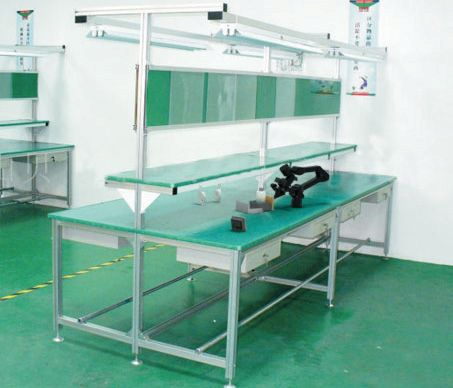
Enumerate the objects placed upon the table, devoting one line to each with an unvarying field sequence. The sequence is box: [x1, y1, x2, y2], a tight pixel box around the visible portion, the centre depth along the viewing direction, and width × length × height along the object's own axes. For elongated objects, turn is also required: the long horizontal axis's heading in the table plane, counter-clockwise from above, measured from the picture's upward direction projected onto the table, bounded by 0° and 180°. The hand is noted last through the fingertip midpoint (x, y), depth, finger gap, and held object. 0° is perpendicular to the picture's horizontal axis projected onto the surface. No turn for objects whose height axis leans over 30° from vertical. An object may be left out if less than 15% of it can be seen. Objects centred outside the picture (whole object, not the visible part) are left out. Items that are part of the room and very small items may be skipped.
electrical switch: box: [230, 214, 247, 232], centre depth 361 cm, size 8×5×8 cm, turn 60°
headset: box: [197, 183, 223, 206], centre depth 435 cm, size 20×7×18 cm, turn 137°
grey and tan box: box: [248, 194, 275, 212], centre depth 422 cm, size 11×12×8 cm
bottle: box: [255, 187, 267, 203], centre depth 421 cm, size 6×6×13 cm
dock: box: [235, 199, 265, 215], centre depth 417 cm, size 13×13×6 cm
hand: (273, 198), depth 428 cm, fingers closed
